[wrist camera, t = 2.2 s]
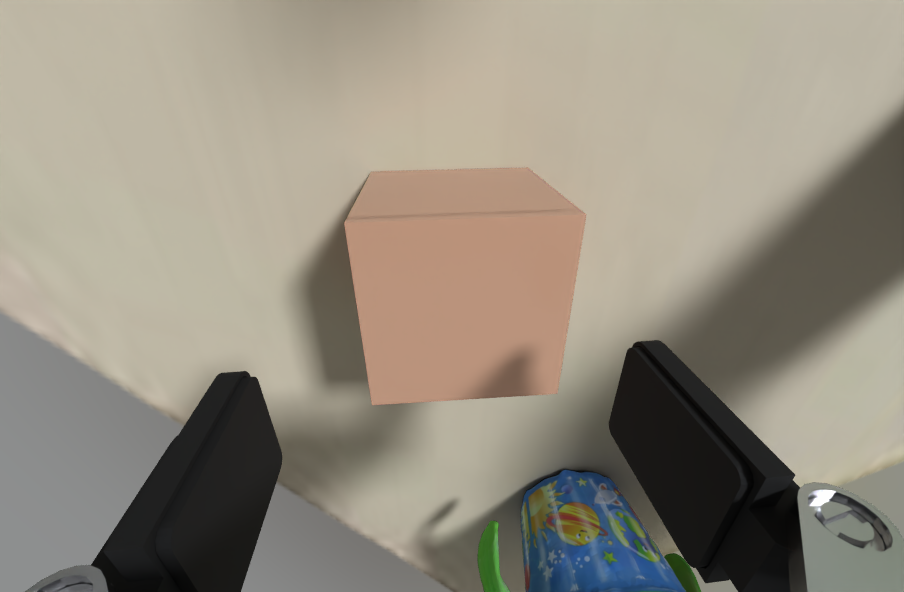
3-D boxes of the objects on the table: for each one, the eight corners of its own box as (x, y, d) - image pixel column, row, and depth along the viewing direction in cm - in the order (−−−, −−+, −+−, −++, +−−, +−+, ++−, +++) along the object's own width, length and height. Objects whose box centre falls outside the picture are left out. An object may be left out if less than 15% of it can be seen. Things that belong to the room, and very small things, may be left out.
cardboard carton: (527, 167, 17) (586, 214, 11) (516, 302, 21) (557, 393, 15) (371, 171, 17) (344, 223, 11) (386, 308, 20) (371, 405, 14)
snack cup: (444, 512, 30) (454, 697, 21) (519, 422, 25) (572, 606, 17) (600, 552, 34) (664, 718, 25) (686, 481, 30) (798, 650, 21)
